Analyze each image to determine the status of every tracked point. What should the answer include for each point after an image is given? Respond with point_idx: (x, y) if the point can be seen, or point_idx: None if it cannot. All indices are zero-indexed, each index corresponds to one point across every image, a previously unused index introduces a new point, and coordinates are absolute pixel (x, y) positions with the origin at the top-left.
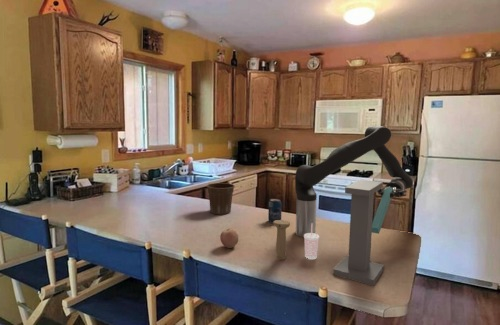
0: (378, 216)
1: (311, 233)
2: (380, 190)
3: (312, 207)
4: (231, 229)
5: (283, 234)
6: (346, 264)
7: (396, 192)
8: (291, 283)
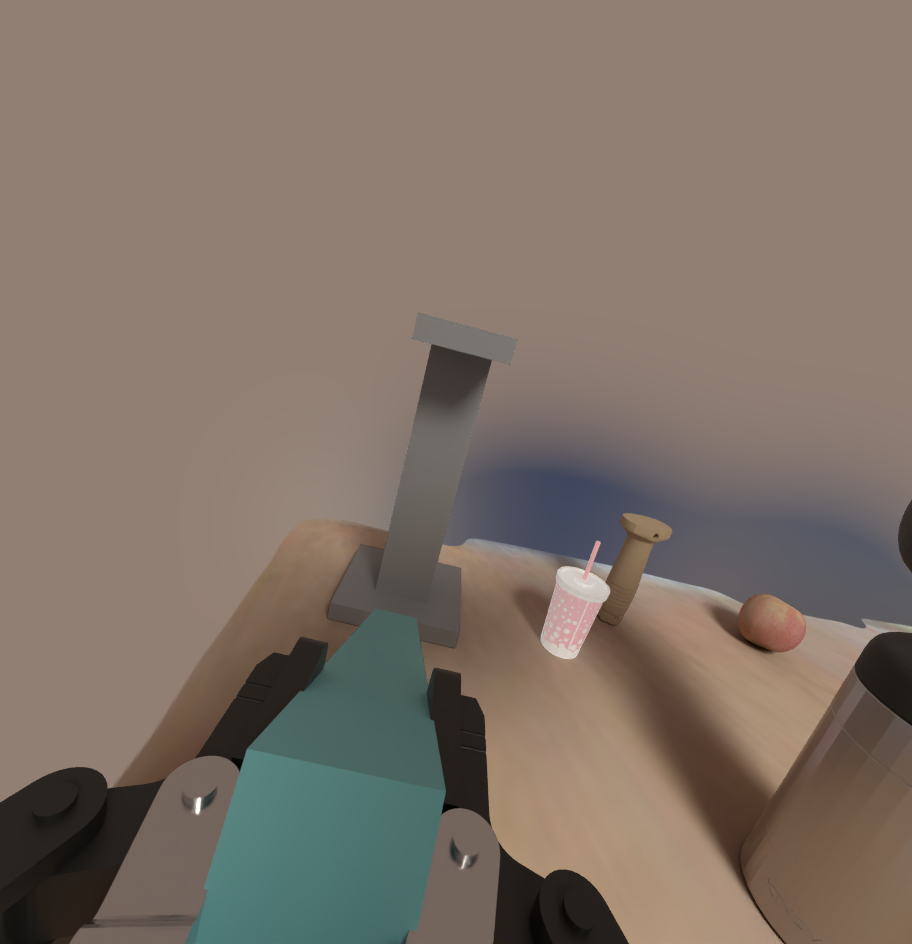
0: (394, 624)
1: (585, 572)
2: (542, 888)
3: (833, 715)
4: (777, 599)
5: (622, 546)
6: (439, 589)
7: (124, 821)
8: (509, 548)
